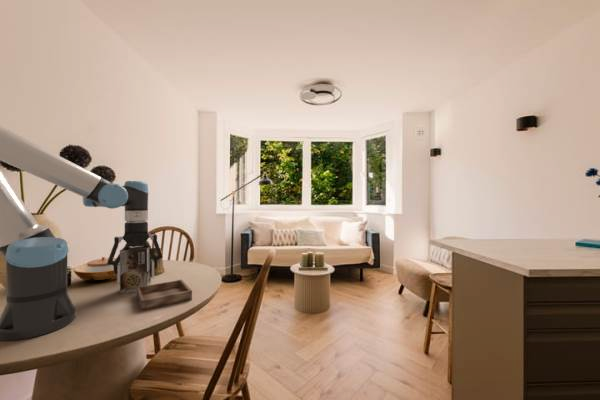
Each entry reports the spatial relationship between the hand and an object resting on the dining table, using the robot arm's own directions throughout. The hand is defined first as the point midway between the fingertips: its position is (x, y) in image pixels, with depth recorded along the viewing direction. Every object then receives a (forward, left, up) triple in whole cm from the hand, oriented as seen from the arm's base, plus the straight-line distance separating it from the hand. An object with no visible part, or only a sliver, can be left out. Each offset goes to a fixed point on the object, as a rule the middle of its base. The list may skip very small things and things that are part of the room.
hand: (136, 279), depth 98 cm
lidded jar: (-10, +23, -4) cm, 25 cm away
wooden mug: (+7, +19, -4) cm, 21 cm away
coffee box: (0, 0, -4) cm, 4 cm away
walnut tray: (+7, -15, -4) cm, 17 cm away
